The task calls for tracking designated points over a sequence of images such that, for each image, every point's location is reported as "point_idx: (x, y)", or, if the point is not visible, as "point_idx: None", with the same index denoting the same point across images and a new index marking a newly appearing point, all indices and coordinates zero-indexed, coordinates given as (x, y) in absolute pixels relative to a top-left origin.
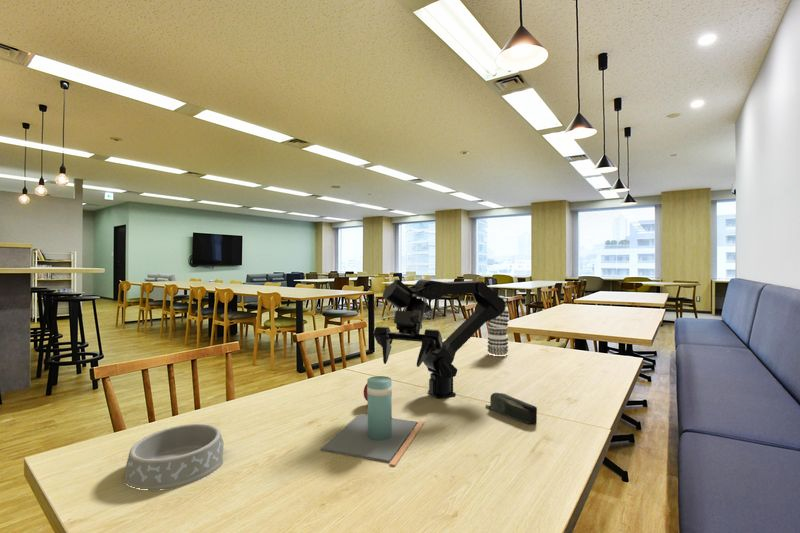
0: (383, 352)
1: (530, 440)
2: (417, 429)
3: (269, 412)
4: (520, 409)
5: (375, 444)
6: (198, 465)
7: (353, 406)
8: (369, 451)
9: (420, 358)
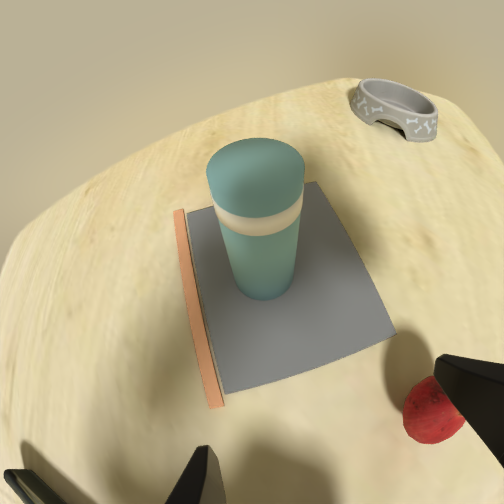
0: (496, 366)
1: (17, 404)
2: (200, 351)
3: (492, 227)
4: (25, 482)
5: None
6: (356, 98)
7: None
8: None
9: (179, 480)
